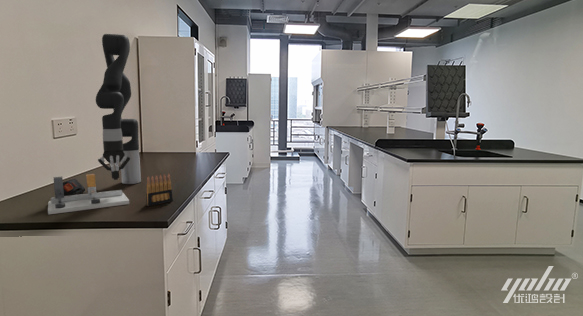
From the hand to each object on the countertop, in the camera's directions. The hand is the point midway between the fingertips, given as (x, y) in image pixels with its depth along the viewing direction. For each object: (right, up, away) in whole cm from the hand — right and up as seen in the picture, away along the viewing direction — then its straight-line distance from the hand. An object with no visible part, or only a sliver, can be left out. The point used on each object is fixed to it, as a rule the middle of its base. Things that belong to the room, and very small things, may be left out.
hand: (115, 179), depth 159 cm
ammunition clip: (+21, -10, -6) cm, 24 cm away
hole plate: (-7, -10, -8) cm, 14 cm away
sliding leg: (-6, -6, -8) cm, 11 cm away
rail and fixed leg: (-7, -8, -8) cm, 13 cm away
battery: (-22, -8, +7) cm, 25 cm away
